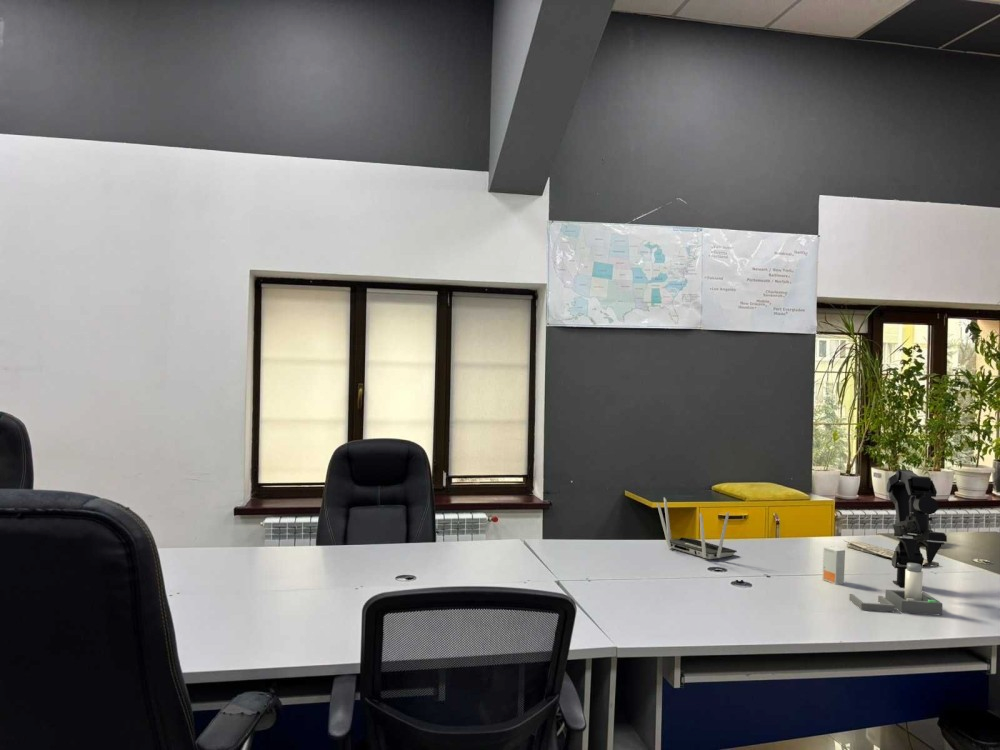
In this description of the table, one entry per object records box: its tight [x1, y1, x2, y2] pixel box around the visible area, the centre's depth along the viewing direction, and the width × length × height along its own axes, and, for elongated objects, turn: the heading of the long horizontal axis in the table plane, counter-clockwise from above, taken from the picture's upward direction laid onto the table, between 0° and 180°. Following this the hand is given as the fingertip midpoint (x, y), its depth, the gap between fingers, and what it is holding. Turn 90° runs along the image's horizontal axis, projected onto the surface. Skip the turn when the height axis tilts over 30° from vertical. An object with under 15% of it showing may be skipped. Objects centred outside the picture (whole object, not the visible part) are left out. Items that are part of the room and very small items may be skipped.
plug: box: [904, 563, 924, 601], centre depth 231 cm, size 5×5×13 cm
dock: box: [884, 589, 943, 616], centre depth 231 cm, size 12×12×4 cm
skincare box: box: [822, 545, 846, 585], centre depth 257 cm, size 6×4×12 cm
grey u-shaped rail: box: [848, 593, 896, 612], centre depth 231 cm, size 10×10×2 cm
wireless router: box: [656, 497, 738, 560], centre depth 293 cm, size 34×23×20 cm
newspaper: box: [844, 540, 940, 569], centre depth 298 cm, size 35×12×4 cm, turn 26°
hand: (919, 561), depth 240 cm, fingers open, 9 cm apart
